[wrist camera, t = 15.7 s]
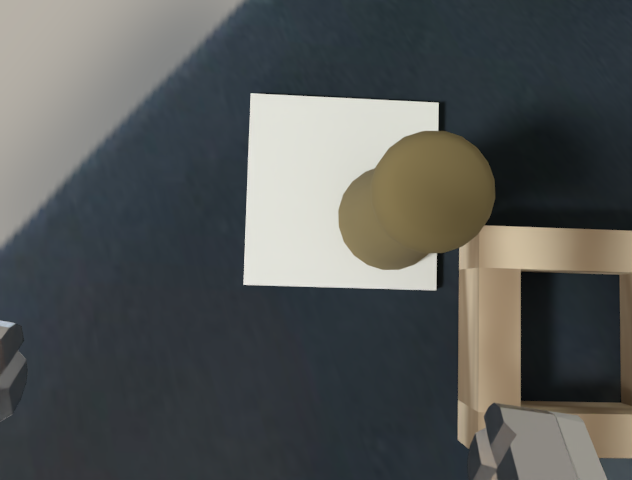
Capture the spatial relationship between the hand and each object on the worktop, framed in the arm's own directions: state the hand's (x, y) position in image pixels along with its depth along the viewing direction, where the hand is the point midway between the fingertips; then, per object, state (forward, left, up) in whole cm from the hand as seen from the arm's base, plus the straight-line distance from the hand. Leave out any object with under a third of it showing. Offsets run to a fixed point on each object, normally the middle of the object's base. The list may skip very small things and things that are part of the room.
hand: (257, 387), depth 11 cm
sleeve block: (+17, -1, -24) cm, 30 cm away
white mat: (+4, +7, -24) cm, 26 cm away
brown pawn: (+7, +6, -24) cm, 25 cm away
